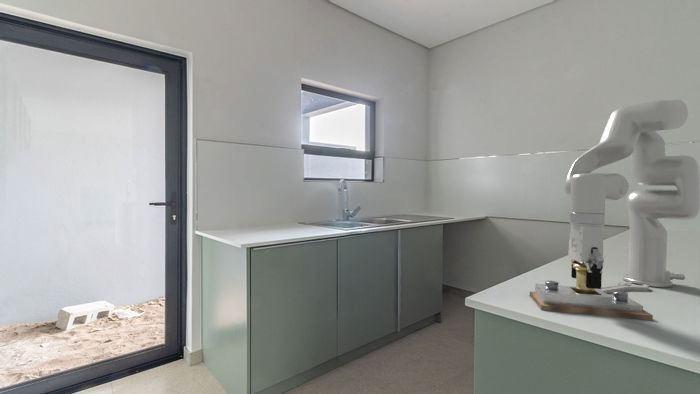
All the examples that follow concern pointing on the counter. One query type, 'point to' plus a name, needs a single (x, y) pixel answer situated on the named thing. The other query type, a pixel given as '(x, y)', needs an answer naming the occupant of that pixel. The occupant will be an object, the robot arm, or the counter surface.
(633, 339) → the counter surface
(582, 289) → the bolt
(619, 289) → the adjustable wrench
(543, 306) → the board
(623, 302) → the metal plate with bolts
